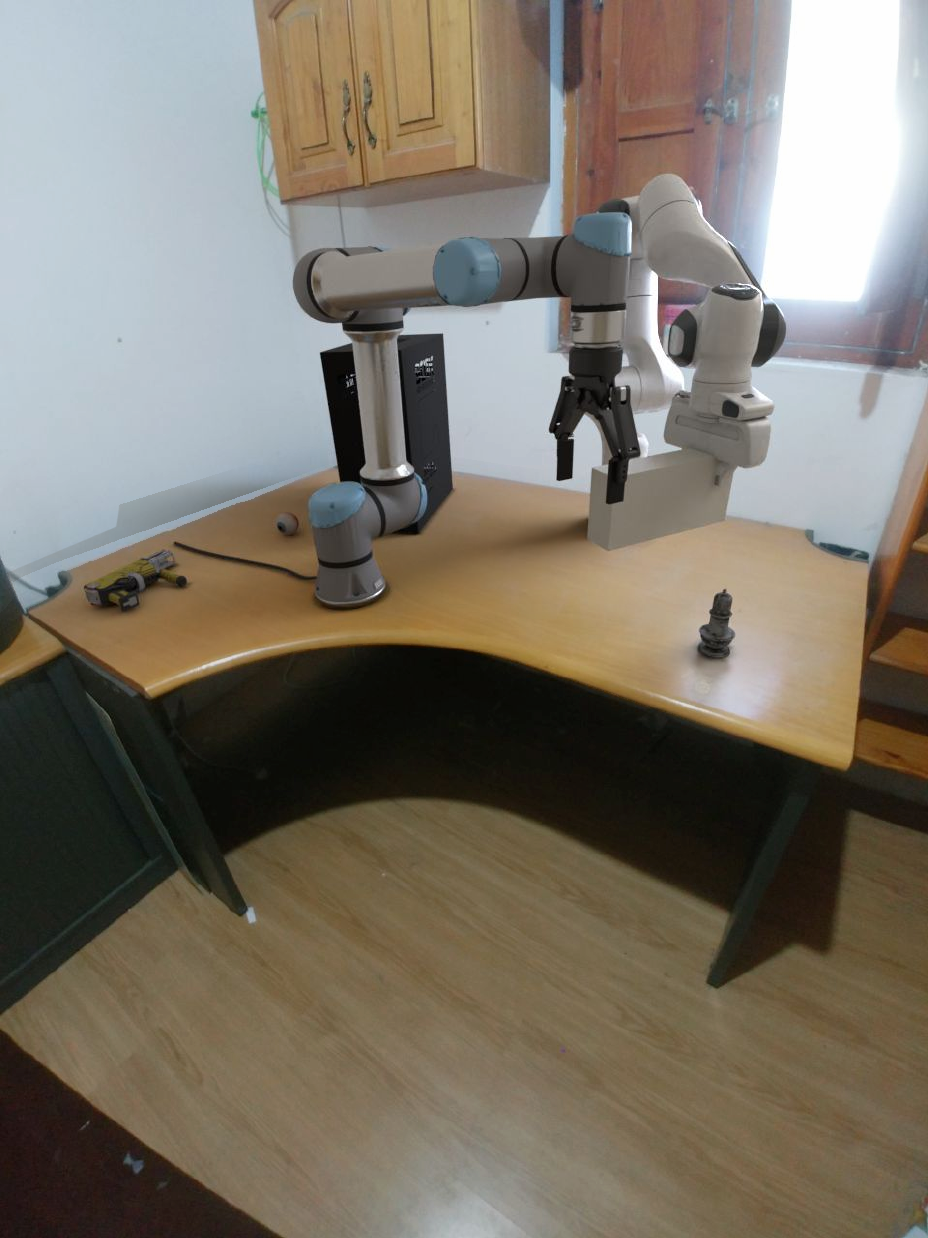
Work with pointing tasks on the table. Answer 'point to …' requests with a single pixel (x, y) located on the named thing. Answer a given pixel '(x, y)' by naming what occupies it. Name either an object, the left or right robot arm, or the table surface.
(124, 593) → the toy gun
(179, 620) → the table surface
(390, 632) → the table surface
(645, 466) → the box
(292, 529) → the eyeball
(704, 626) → the dark grey chess piece
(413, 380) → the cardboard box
